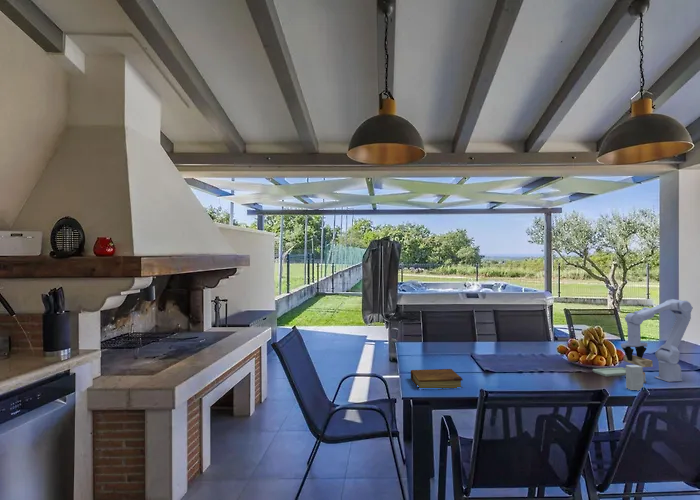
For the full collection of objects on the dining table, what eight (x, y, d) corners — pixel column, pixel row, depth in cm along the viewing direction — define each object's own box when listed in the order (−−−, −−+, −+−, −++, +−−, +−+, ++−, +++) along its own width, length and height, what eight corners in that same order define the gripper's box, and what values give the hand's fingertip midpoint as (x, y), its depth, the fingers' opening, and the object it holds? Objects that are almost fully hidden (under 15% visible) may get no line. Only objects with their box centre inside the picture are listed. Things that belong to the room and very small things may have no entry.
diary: (450, 378, 223) (450, 368, 223) (462, 390, 204) (462, 378, 204) (410, 379, 221) (410, 369, 221) (418, 391, 203) (418, 379, 203)
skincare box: (637, 388, 202) (636, 364, 203) (643, 390, 198) (643, 366, 198) (625, 388, 202) (625, 364, 202) (631, 391, 198) (631, 367, 198)
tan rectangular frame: (652, 366, 209) (652, 360, 209) (643, 367, 208) (643, 361, 208) (629, 359, 223) (629, 354, 223) (621, 360, 222) (621, 354, 222)
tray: (622, 369, 234) (622, 367, 234) (636, 374, 224) (636, 372, 224) (592, 371, 231) (592, 369, 231) (605, 376, 221) (605, 374, 222)
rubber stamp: (640, 380, 214) (640, 370, 214) (647, 383, 210) (647, 372, 210) (636, 380, 214) (636, 370, 214) (643, 383, 210) (643, 373, 210)
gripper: (639, 333, 222) (639, 357, 221) (616, 334, 220) (616, 359, 219) (650, 335, 215) (651, 361, 214) (626, 337, 213) (627, 362, 212)
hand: (634, 360), depth 216 cm, fingers closed on tan rectangular frame, 5 cm apart
